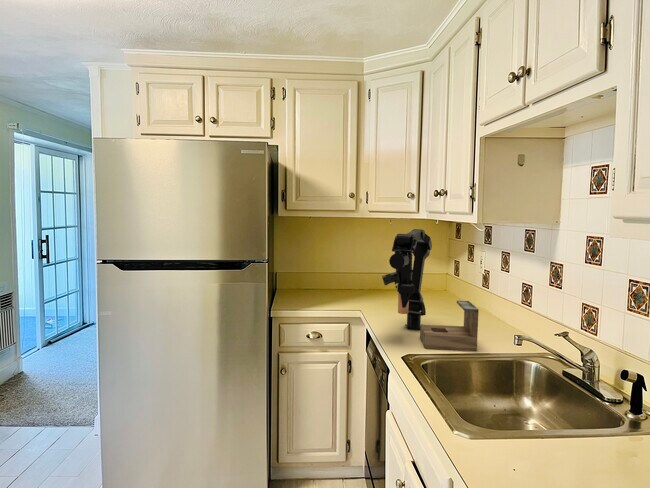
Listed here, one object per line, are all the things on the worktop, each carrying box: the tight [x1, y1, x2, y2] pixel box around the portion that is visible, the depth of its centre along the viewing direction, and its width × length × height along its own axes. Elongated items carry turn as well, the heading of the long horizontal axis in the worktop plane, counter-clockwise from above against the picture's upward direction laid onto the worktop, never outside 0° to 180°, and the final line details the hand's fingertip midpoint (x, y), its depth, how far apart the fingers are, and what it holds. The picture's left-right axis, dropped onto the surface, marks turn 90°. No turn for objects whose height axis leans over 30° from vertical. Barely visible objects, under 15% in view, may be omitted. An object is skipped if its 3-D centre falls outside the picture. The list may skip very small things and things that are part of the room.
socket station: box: [419, 300, 479, 352], centre depth 153 cm, size 14×18×15 cm
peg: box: [397, 292, 409, 315], centre depth 159 cm, size 4×4×8 cm
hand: (403, 306), depth 159 cm, fingers closed on peg, 4 cm apart
